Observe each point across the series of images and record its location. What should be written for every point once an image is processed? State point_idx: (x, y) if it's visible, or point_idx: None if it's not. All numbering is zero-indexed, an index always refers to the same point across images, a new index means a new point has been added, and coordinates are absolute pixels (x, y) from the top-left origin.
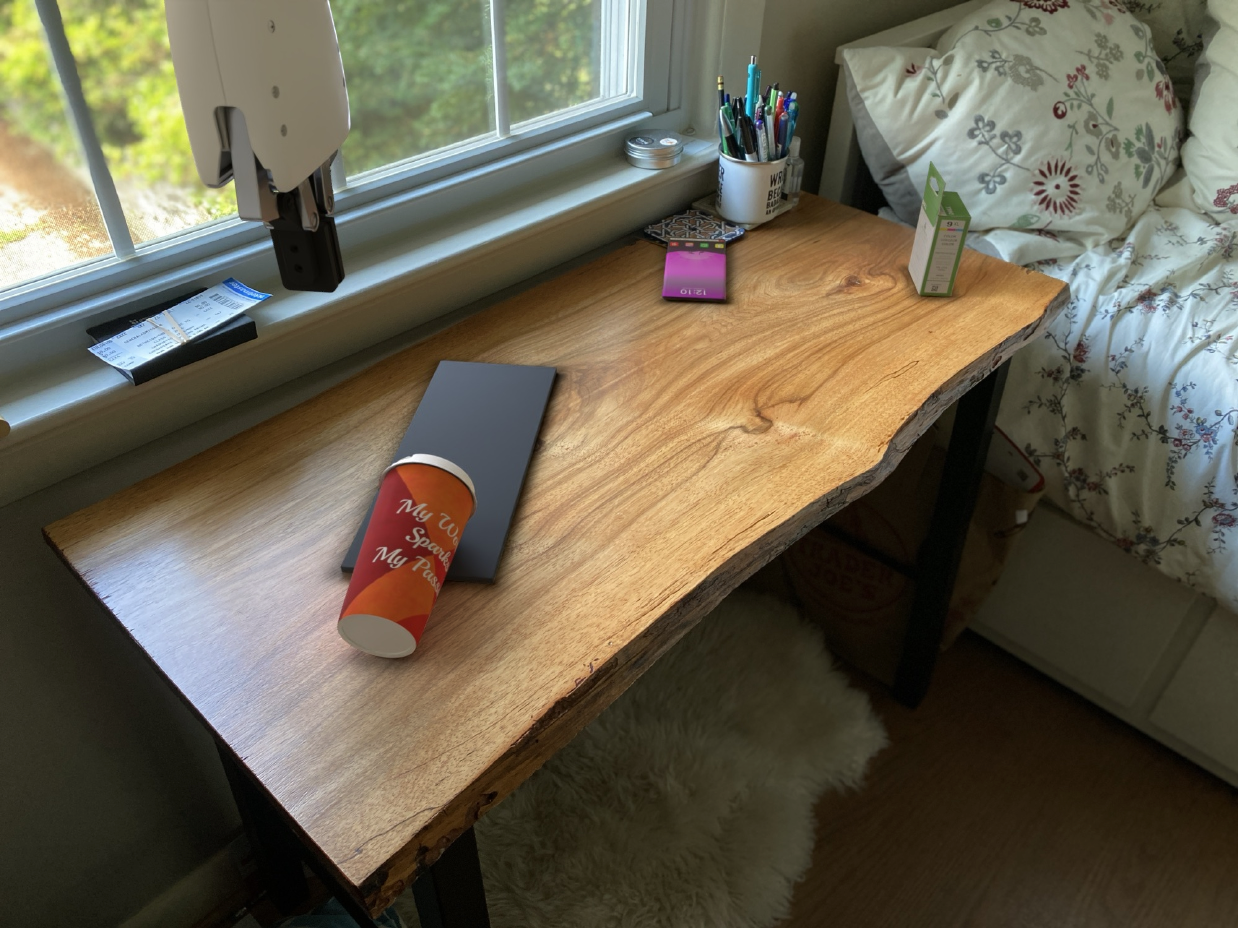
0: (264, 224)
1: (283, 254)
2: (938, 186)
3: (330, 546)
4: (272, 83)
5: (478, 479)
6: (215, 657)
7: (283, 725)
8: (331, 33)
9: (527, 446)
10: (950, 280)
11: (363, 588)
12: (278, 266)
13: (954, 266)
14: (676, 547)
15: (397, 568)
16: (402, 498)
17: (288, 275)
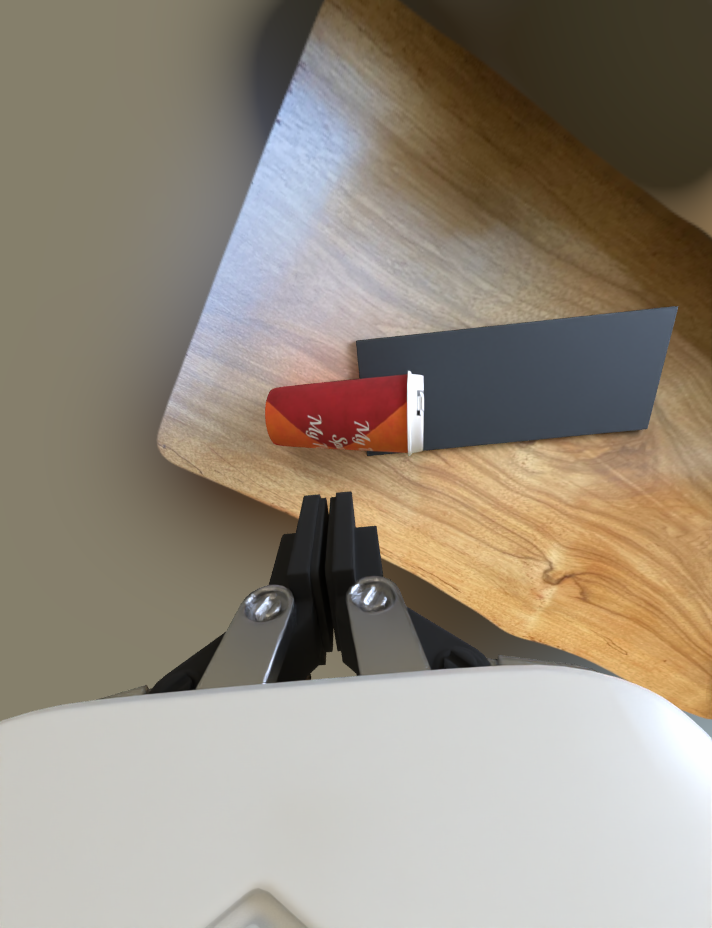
0: (243, 603)
1: (275, 565)
2: None
3: (382, 316)
4: None
5: (474, 412)
6: (249, 282)
7: (216, 366)
8: None
9: (521, 437)
10: None
11: (284, 416)
12: (300, 515)
13: None
14: (420, 548)
15: (306, 435)
16: (369, 421)
17: (283, 537)
